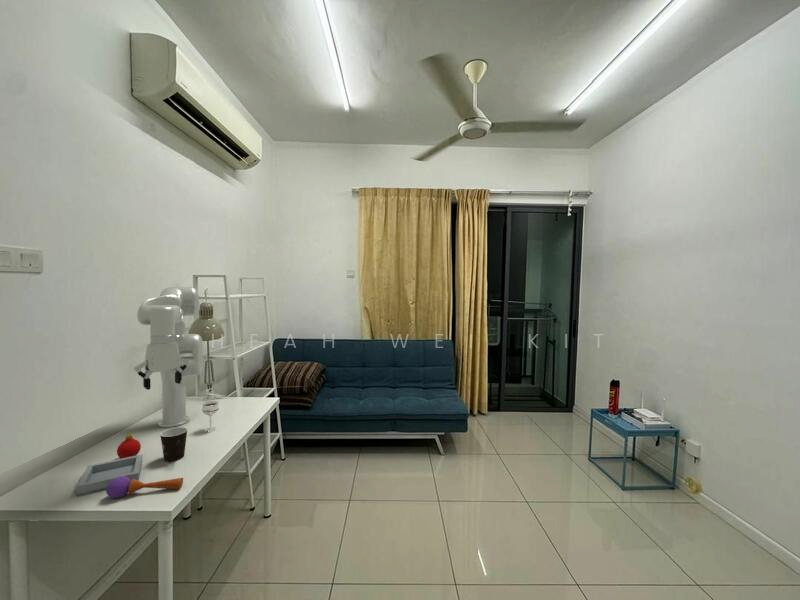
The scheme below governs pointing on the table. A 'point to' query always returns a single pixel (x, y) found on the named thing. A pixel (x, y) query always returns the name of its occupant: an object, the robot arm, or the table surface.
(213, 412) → the wineglass
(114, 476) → the tray
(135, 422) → the table surface
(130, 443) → the christmas ornament
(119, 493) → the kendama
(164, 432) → the coffee mug
